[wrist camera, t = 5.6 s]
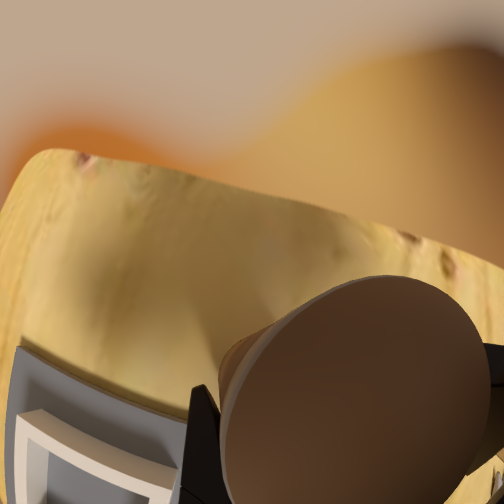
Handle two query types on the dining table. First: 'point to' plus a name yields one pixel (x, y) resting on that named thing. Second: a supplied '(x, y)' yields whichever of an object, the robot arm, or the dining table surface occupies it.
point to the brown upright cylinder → (355, 399)
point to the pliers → (497, 483)
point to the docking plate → (85, 442)
